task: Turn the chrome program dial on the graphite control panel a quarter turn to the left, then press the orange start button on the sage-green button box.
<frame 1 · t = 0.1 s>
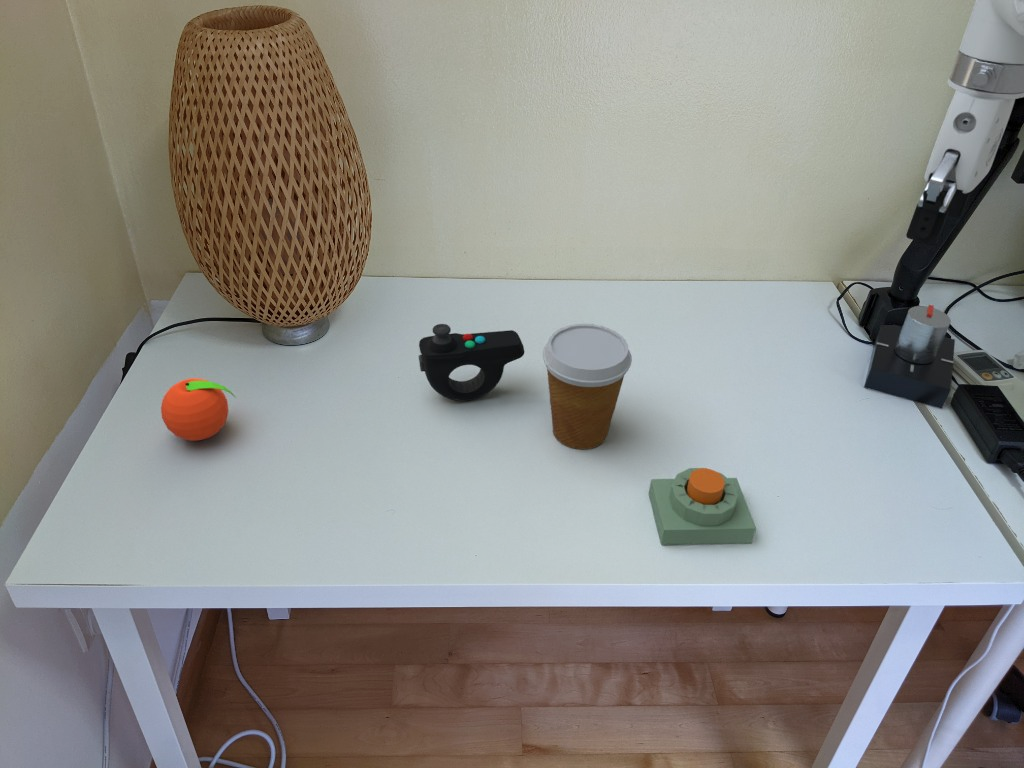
hand: (933, 226, 90), 19 cm above the table, tool pointing down, fingers open, 9 cm apart
start button: (705, 486, 76), point 4 cm above the table, slide at 0.1 cm
dial: (922, 333, 96), point 6 cm above the table, hinge at 0.0°
controller: (472, 395, 94), on the table
disposable coffee cup: (579, 432, 89), on the table
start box: (698, 517, 79), on the table
dial panel: (906, 372, 99), on the table
clementine: (207, 433, 88), on the table
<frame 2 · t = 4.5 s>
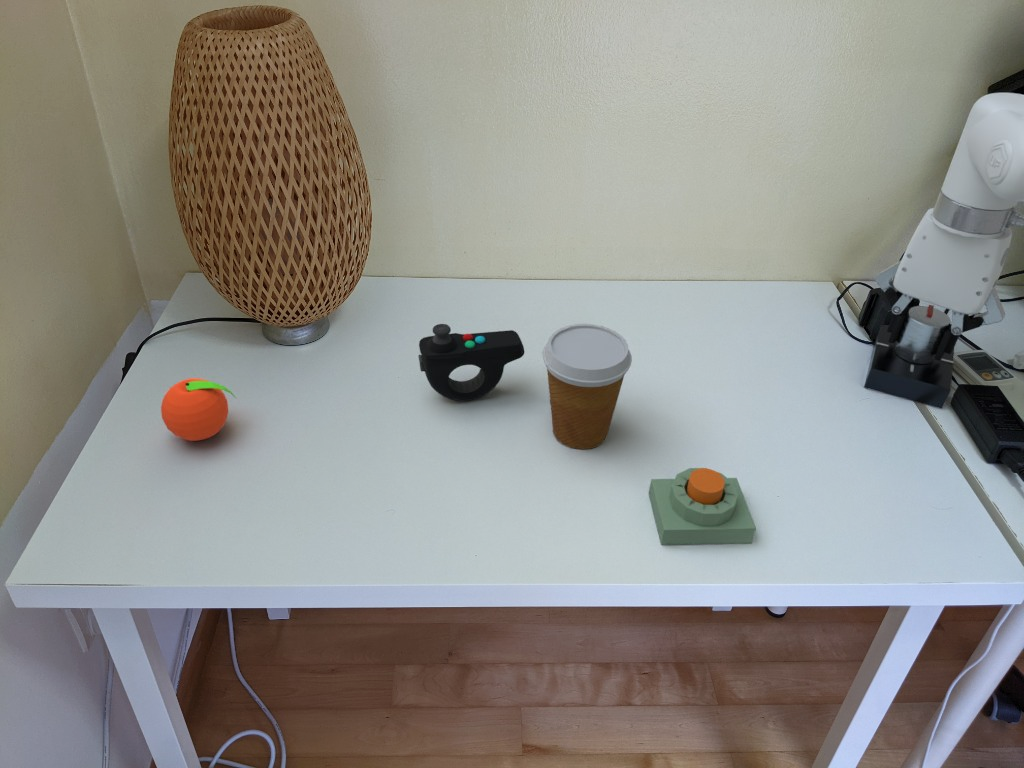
hand: (917, 345, 97), 4 cm above the table, tool pointing down, fingers closed on dial, 4 cm apart
dial: (922, 333, 96), point 6 cm above the table, hinge at 0.1°, touching gripper
everything else where it was.
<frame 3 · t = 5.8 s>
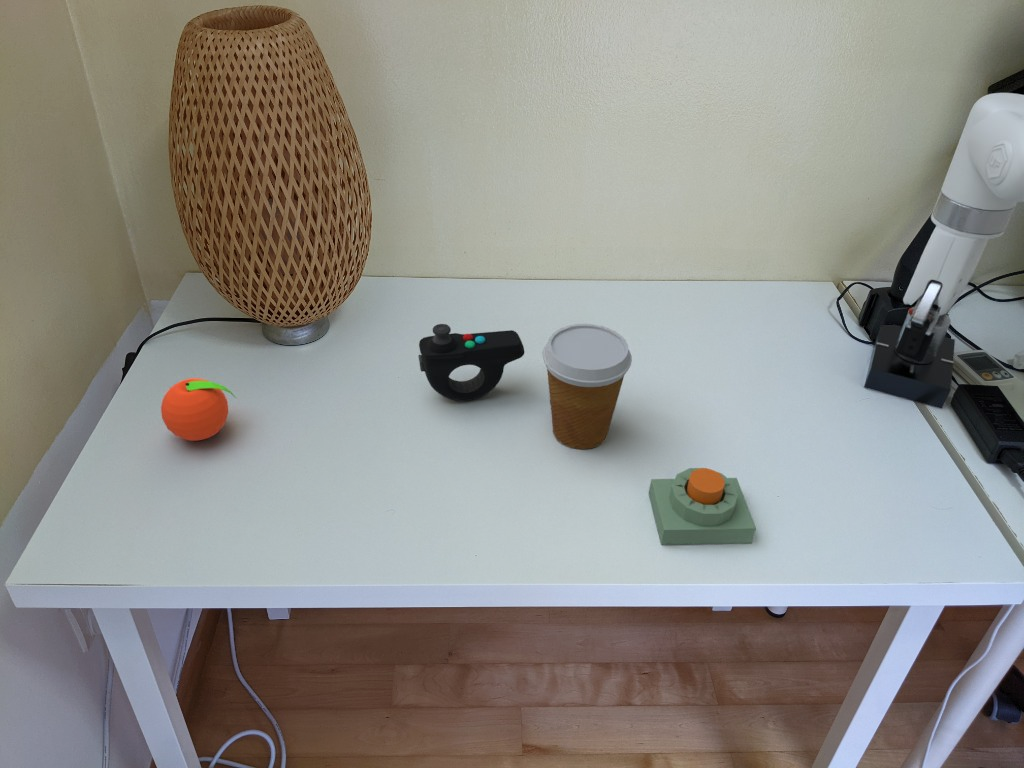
hand: (917, 345, 97), 4 cm above the table, tool pointing down, fingers closed on dial, 4 cm apart
dial: (922, 333, 96), point 6 cm above the table, hinge at 89.7°, touching gripper
everything else where it was.
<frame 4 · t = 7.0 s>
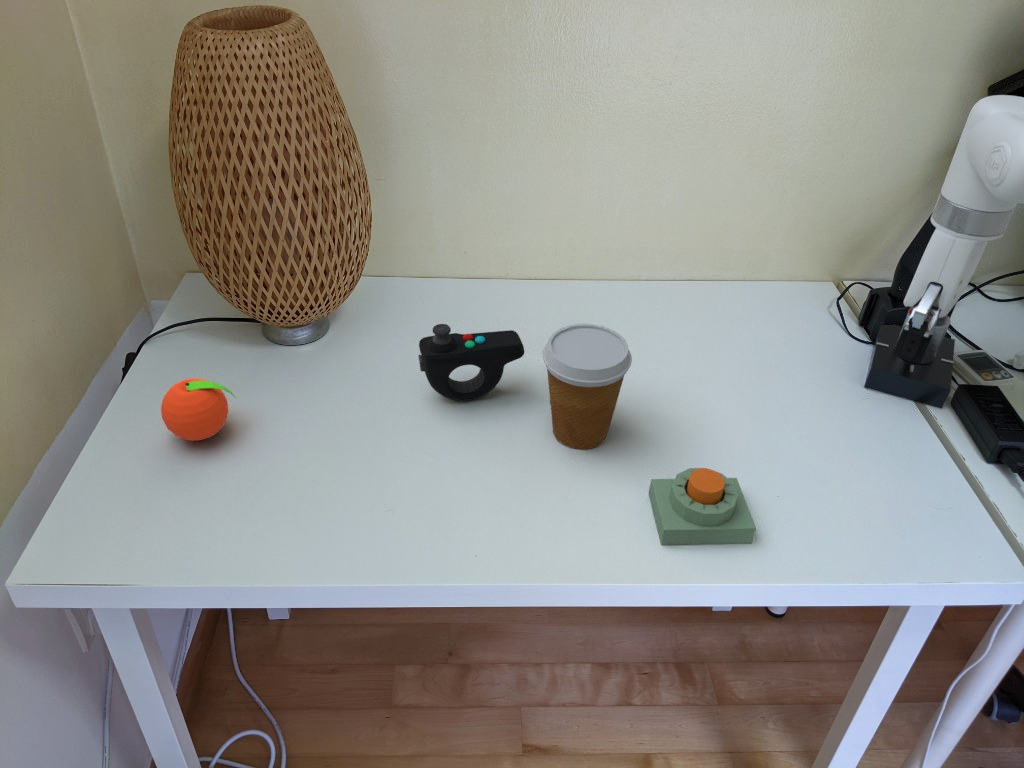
hand: (919, 341, 96), 5 cm above the table, tool pointing down, fingers open, 9 cm apart
dial: (922, 333, 96), point 6 cm above the table, hinge at 87.1°
everything else where it was.
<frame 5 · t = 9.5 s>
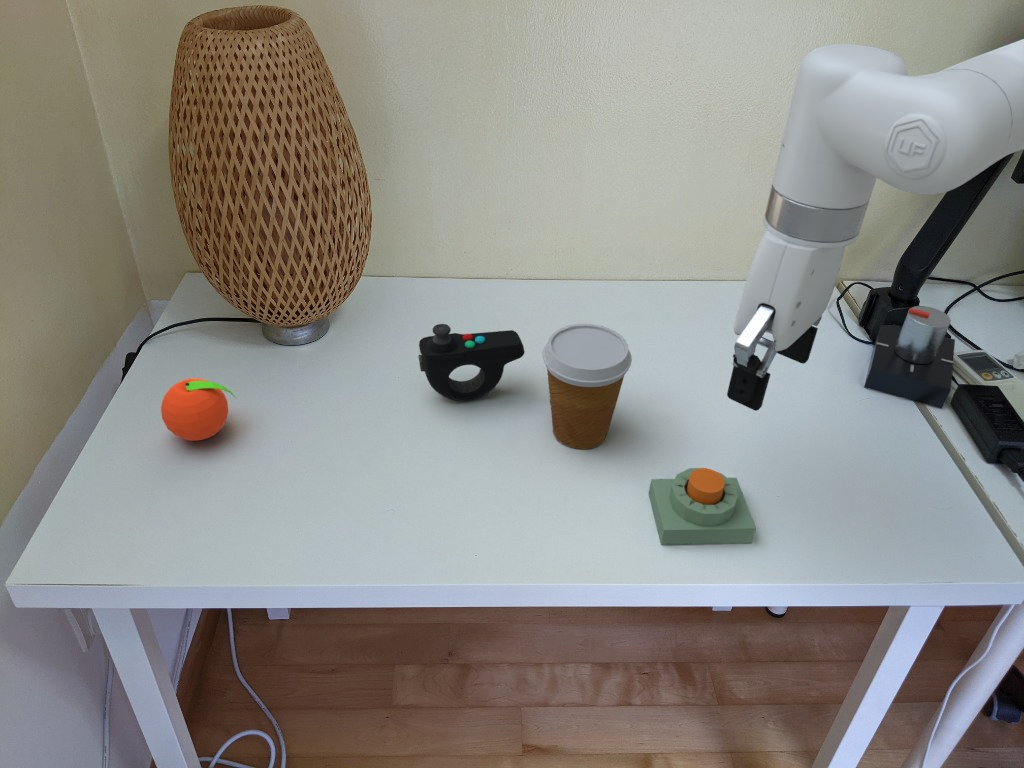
hand: (768, 379, 73), 15 cm above the table, tool pointing down, fingers open, 9 cm apart
nothing on the table moved.
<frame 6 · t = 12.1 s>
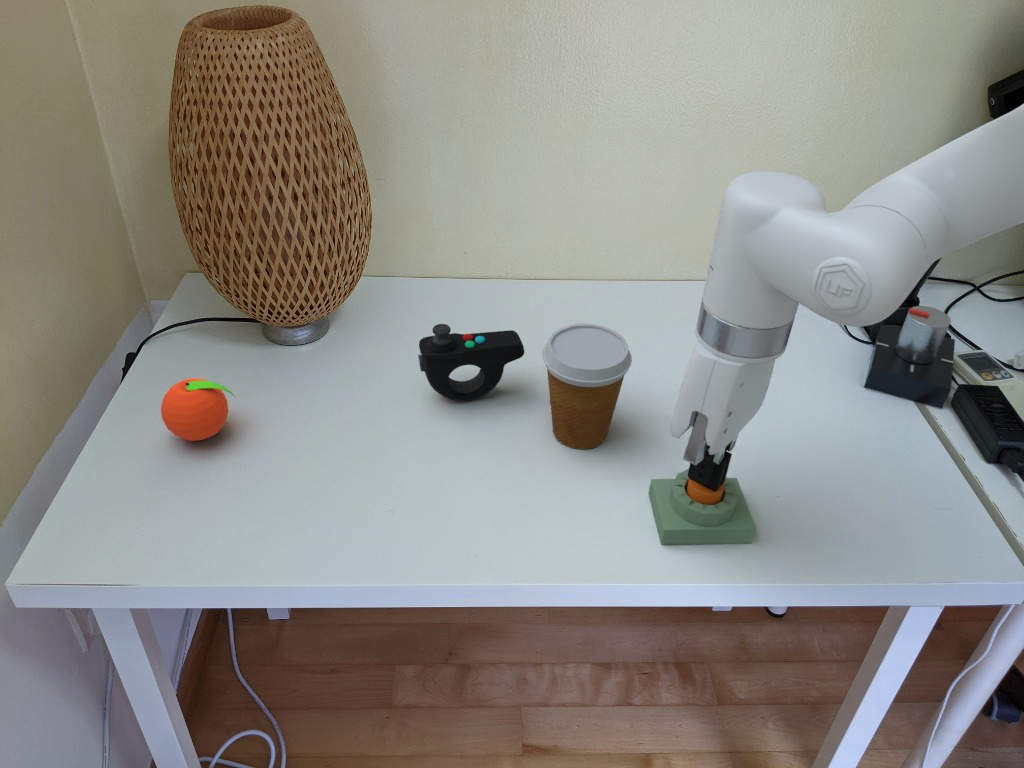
hand: (705, 480, 76), 5 cm above the table, tool pointing down, fingers closed
start button: (705, 487, 76), point 4 cm above the table, slide at -0.1 cm, touching gripper
everything else where it was.
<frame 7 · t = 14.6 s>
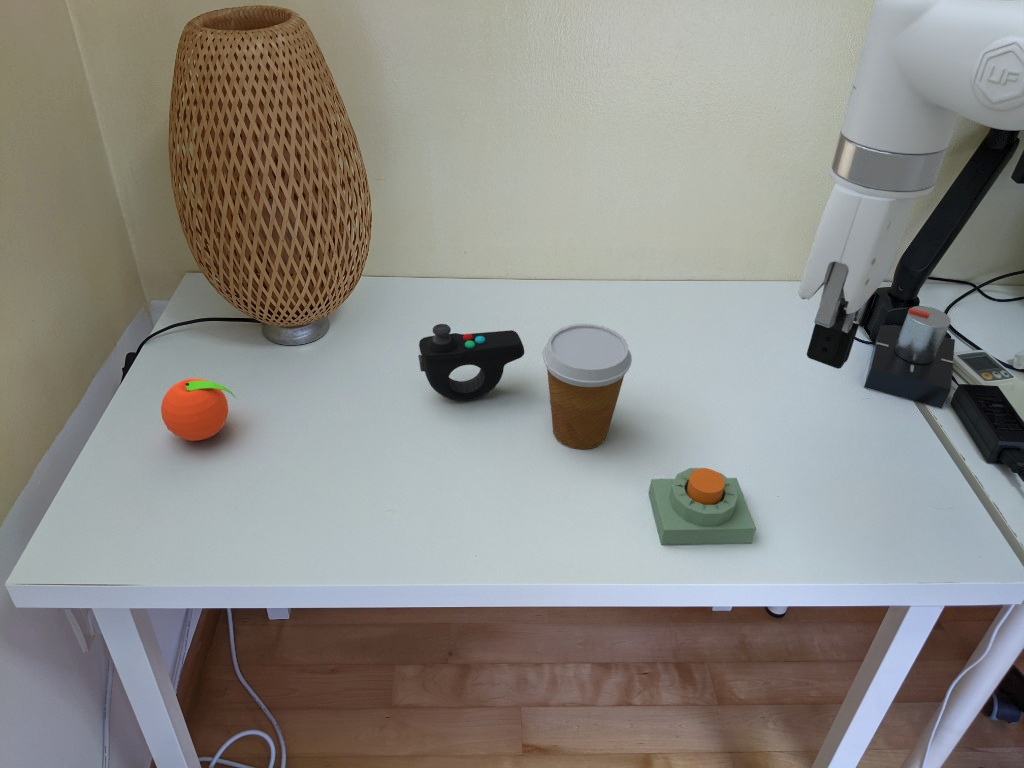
hand: (826, 359, 70), 18 cm above the table, tool pointing down, fingers closed
start button: (705, 486, 76), point 4 cm above the table, slide at 0.1 cm
everything else where it was.
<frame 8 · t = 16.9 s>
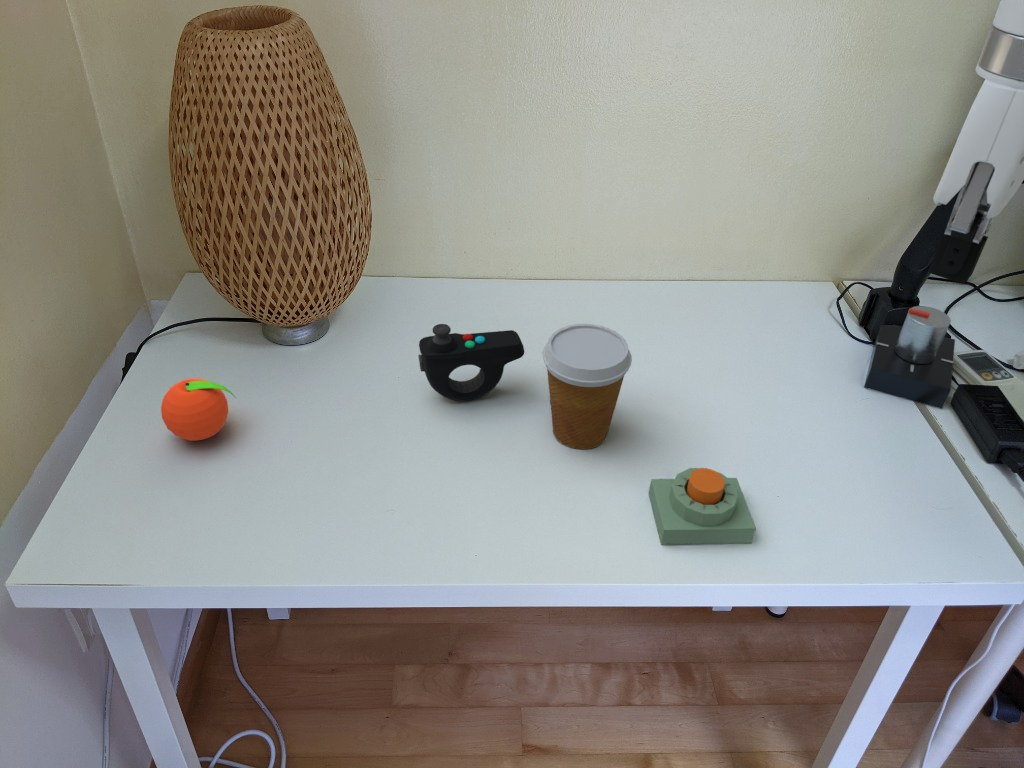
hand: (949, 274, 69), 25 cm above the table, tool pointing down, fingers closed
nothing on the table moved.
at the end: dial at +87° (first picture: +0°); start button pushed in 1.1 cm at the most during the clip, back to where it started at the end; start button slide at 0.1 cm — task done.
